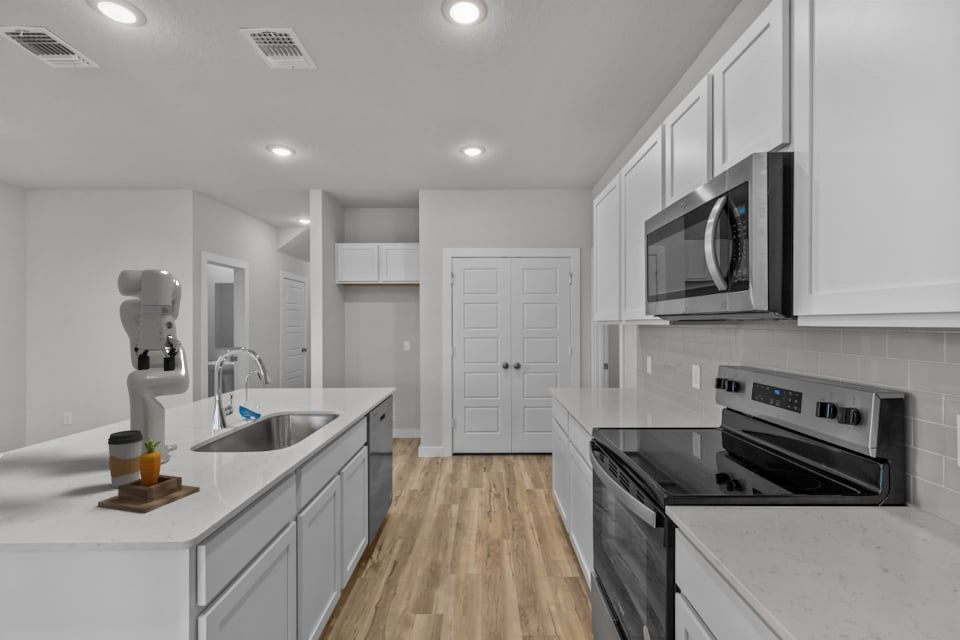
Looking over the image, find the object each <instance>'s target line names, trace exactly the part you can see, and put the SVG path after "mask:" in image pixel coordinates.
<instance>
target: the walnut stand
mask: <svg viewBox="0 0 960 640" xmlns="http://www.w3.org/2000/svg"><path fill="white" fill-rule="evenodd" d="M117 490H118V491H117V495H114V496H112V497H109V498H106V499H103V500H101V501H98V502H97V507H102V508H109V509H114V510H115V509H116V510H120V511H121V510H122V511H129V512H135V513H143V514H147V513H149V512H151V511H154V510H156V509H159V508H161V507H163V506H166V505H168V504H171V503H173V502H176V501H178V500H181V499H183V498H185V497H188V496H191V495H193V494H195V493H199V492H200V490H201V489H200V486H193V485H184V484H183V477H182V476H174V475H167V474H166V475H165V474H159V478H158V482H157V484H156V485H153V486H150V487H144V486H143V483H142V479H141V477H139V479H137V480H134V481H131V482H128V483H125V484H122V485H119V486H118V488H117Z"/></svg>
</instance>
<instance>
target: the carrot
mask: <svg viewBox="0 0 960 640" xmlns="http://www.w3.org/2000/svg"><path fill="white" fill-rule="evenodd" d="M152 442H153V440H152V439H149V442H148V443H147V441H146V442H145V443H144V444H145V447H146V449H147V452H145V453H143V454H142V455H141V456H140V478H141V479H142V483H143V486H144V487H150V486H153V485H156V484H157V482H158V478H159V475H160V472H161V465H162V464H161V454H160V452H158V451H154V449H155V447H156V446H157V445H158V444H159V443H160V442H161V441H158V442H156V443H155V444H154V445H152Z"/></svg>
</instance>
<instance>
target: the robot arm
mask: <svg viewBox="0 0 960 640" xmlns="http://www.w3.org/2000/svg"><path fill="white" fill-rule="evenodd" d="M117 289H118V292H119V293H120V295H121V296H124V297H131V298H130V299H126V300H124V301H122V302H121V304H120V306H119V318H120V322H121V324H122V327H123V330H124V331H125V333H126V334H127V337H128V338H129V349H130V361H131V362H130V363H131V364H132V367H133V368H134V370H133V371H131V372H130V373H129V374H128V375H127V377H126V387H127V392H128V398H129V409H130V410H129V413H130V415H129V418H130V420H129V421H130V423H129V425H130V426H129V429H130V430H139V431H141V434H142V435H143V436H142V437H143V440H142V450H141V452H142V454H143V453H145V452H147V449H146V447H145V444H144V443H145V442H146V441H147V443H148V442H149V439H152V440H153V442H152V445H154V444H155V443H156V442H158V441H161V442H160V443H159V444H158V445H157V446H156V447H155V449H154V451H158V452H160V454H161V465H162V464H165V463H166V462H169V461H170V460H171V455H170V454H169V453H170V452H172V451H176V450H177V449H178V445H177V444H172V445H166V444H165V441H166V439H165V438H166V423H165V422H166V421H165V420H166V417H165V415H166V411H165V410H166V409H165V407H164V405H163V404H162V403H161V402H160V401H158V399H156V397H162V396H174V395H182V394H184V393H186V392H187V391H188V389H189V388H190V378H189V376H190V374H189V368H188V362H187V354H186V351H185V348H184V347H183V345H182V341H180V340H178V338H177V335H178V334H177V328H176V320H177V319H178V317H179V315H180V306H181V299H182V284H181V282H180V280H179V279H178V278H176V277H175V276H173V275H172V273H171V272H170V271H168V270H165V269H151V268H150V269H144V270H138V269H137V270H135V269H133V270H132V269H124V270H122V271H120V273H119V274H118V277H117ZM130 430H129V431H130ZM142 454H141V455H142Z"/></svg>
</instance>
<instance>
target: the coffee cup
mask: <svg viewBox="0 0 960 640" xmlns="http://www.w3.org/2000/svg"><path fill="white" fill-rule="evenodd" d="M142 436H143V435H142V434H141V431H139V430H123V431H118V432H112V433H110V434H109V438H108V439H107V445H108V454H109V458H108V459H109V471H110V477H111V479H110V480H111V486H112V487H113V488H114V489H118V486H119V485H122V484H125V483H128V482H131V481H134V480H137V479H140V477H141V475H140V456H141V454H142V452H141V450H142V440H143V437H142Z"/></svg>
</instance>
